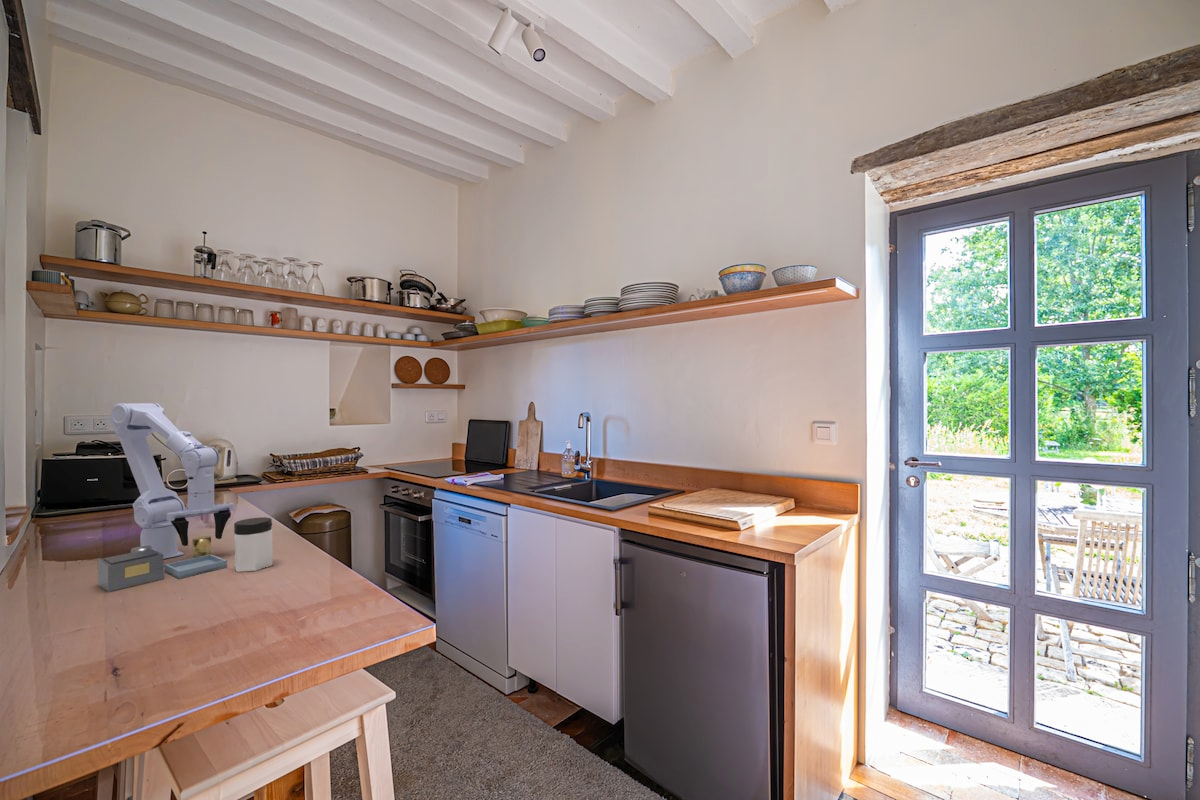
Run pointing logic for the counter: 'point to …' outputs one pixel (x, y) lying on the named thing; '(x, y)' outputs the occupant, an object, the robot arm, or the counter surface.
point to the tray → (195, 566)
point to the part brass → (201, 546)
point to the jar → (253, 544)
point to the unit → (130, 569)
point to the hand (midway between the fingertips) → (202, 541)
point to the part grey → (140, 548)
